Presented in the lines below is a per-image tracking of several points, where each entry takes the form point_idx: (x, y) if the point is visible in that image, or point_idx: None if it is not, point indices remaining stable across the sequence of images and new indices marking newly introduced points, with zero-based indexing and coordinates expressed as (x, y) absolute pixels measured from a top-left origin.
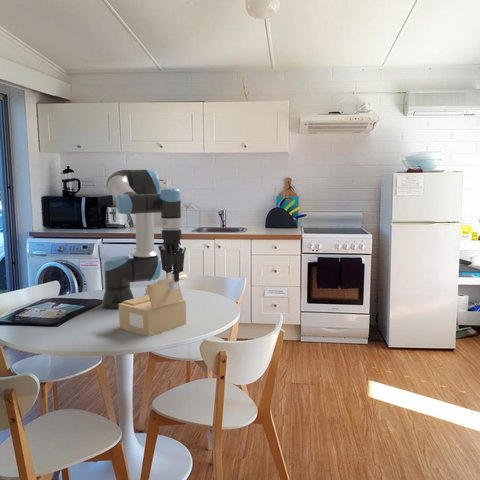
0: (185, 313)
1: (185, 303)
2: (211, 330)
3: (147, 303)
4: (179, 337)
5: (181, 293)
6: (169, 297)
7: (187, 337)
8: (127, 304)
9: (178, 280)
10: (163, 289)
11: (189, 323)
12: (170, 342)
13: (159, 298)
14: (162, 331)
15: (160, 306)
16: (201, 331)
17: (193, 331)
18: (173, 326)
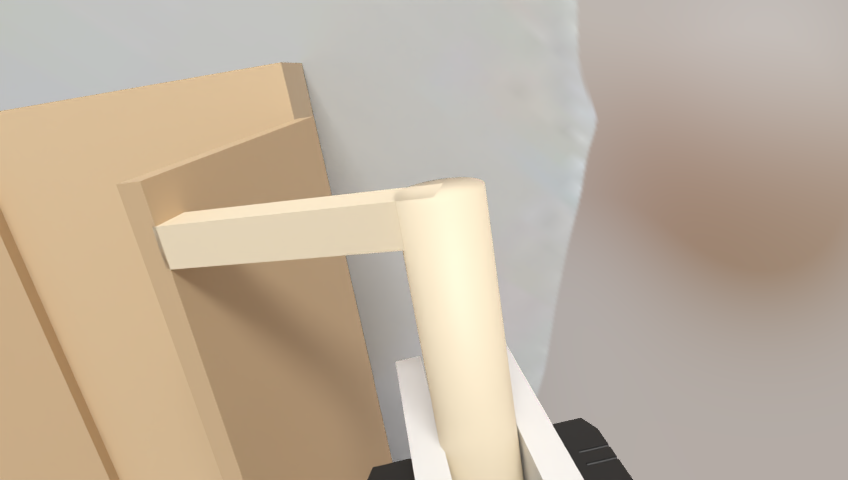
0: (295, 68)
1: (284, 64)
2: (559, 23)
3: (150, 413)
4: (513, 261)
5: (277, 129)
6: (328, 314)
7: (548, 226)
8: None
9: (596, 438)
10: (301, 427)
11: (311, 37)
12: (542, 338)
13: (353, 441)
14: (352, 286)
15: (378, 401)
16: (525, 90)
17: (486, 131)
18: (331, 195)
